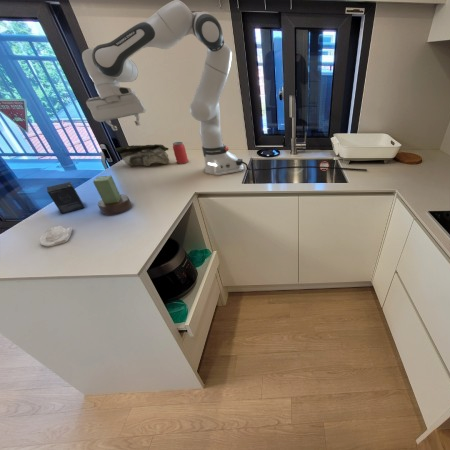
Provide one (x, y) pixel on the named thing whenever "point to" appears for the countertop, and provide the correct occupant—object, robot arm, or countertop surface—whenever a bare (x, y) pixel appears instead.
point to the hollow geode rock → (143, 154)
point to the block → (107, 189)
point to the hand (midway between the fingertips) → (127, 127)
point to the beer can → (180, 152)
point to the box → (65, 197)
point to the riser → (115, 206)
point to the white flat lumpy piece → (55, 236)
